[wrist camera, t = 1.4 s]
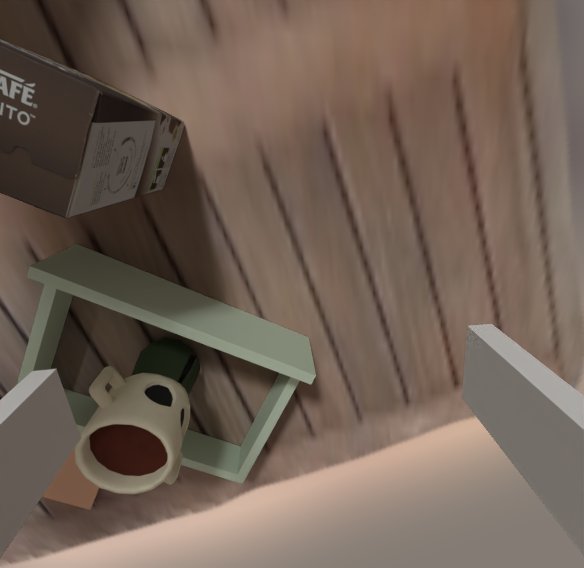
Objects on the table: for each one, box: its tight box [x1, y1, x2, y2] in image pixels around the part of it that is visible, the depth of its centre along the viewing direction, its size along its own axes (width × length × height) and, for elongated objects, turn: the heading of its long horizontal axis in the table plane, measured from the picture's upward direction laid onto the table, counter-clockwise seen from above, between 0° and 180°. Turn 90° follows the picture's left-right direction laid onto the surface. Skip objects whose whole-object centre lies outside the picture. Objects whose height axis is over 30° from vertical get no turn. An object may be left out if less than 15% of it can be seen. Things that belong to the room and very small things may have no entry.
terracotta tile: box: [42, 434, 99, 510], centre depth 42 cm, size 10×12×1 cm
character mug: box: [75, 338, 200, 494], centre depth 33 cm, size 11×7×13 cm, turn 27°
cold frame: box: [17, 244, 316, 484], centre depth 36 cm, size 24×17×7 cm
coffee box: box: [0, 39, 184, 218], centre depth 24 cm, size 9×6×16 cm
